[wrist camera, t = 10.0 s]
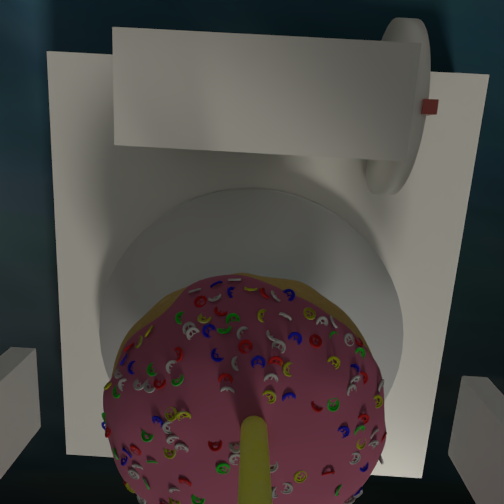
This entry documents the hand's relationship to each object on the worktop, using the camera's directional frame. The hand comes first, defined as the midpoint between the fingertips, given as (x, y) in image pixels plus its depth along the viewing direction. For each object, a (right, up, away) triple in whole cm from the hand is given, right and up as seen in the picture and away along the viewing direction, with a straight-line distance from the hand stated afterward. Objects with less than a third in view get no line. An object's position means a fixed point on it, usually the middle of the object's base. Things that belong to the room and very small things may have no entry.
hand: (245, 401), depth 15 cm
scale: (0, +4, +7) cm, 8 cm away
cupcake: (0, +1, +4) cm, 4 cm away
